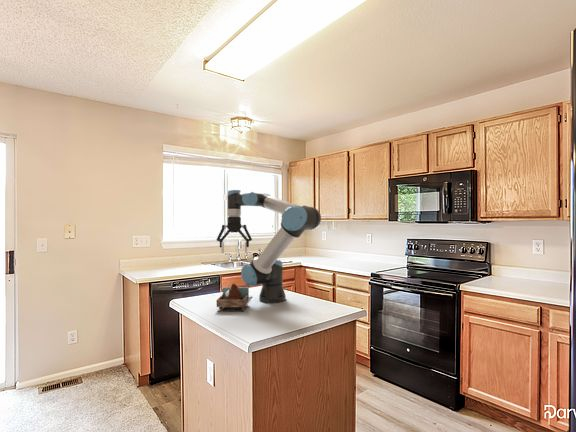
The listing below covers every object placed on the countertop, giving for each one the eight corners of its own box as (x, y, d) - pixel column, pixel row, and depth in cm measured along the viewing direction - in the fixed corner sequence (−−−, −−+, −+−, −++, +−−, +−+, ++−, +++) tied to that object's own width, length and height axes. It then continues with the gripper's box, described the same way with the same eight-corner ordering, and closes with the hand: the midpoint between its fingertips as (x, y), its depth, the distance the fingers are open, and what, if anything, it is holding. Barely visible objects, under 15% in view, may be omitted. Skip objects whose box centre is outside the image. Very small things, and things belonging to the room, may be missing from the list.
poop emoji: (240, 303, 168) (240, 285, 168) (223, 303, 168) (223, 285, 168) (243, 298, 178) (243, 281, 178) (227, 298, 178) (227, 281, 178)
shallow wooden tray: (248, 303, 178) (248, 287, 179) (244, 310, 164) (244, 293, 165) (223, 303, 179) (222, 287, 179) (216, 310, 165) (216, 292, 165)
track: (252, 297, 196) (252, 296, 196) (243, 312, 164) (243, 311, 164) (230, 297, 196) (230, 296, 196) (217, 311, 164) (217, 311, 164)
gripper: (256, 216, 194) (256, 252, 194) (214, 216, 195) (214, 252, 195) (254, 216, 187) (254, 253, 186) (211, 216, 188) (211, 253, 187)
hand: (234, 253), depth 191 cm, fingers open, 13 cm apart
